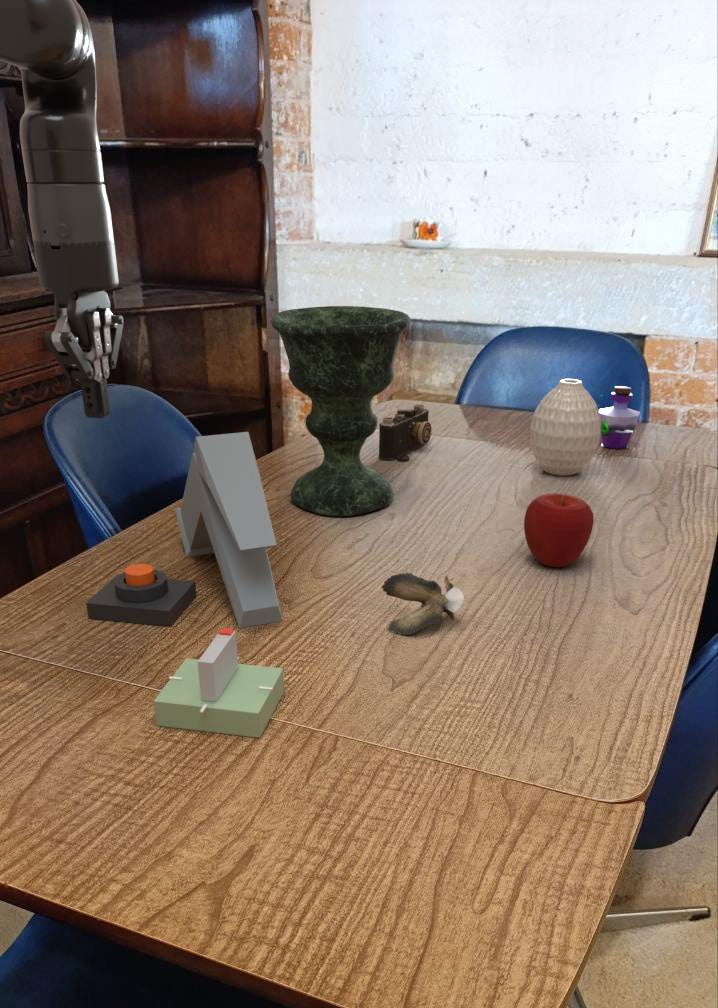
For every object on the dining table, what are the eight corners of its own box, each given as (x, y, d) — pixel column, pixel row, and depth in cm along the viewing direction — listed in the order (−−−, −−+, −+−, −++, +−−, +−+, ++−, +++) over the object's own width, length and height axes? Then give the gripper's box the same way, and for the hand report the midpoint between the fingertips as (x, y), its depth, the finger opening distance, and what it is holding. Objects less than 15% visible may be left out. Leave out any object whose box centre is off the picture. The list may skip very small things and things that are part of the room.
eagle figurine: (433, 593, 115) (372, 593, 111) (458, 560, 109) (395, 560, 105) (451, 642, 111) (389, 644, 107) (478, 612, 106) (413, 613, 102)
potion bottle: (585, 446, 181) (593, 387, 175) (605, 437, 186) (612, 380, 181) (624, 454, 176) (633, 393, 170) (643, 445, 181) (652, 386, 176)
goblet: (258, 514, 144) (248, 322, 130) (302, 474, 163) (298, 303, 149) (388, 527, 139) (392, 329, 125) (418, 484, 158) (424, 308, 144)
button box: (88, 618, 110) (83, 589, 109) (119, 589, 118) (115, 561, 116) (170, 626, 109) (167, 597, 107) (196, 596, 116) (194, 568, 114)
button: (121, 586, 110) (119, 573, 110) (133, 575, 114) (131, 562, 113) (148, 588, 110) (146, 576, 109) (159, 577, 113) (158, 564, 112)
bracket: (215, 675, 123) (238, 601, 100) (174, 508, 131) (186, 406, 108) (271, 664, 125) (305, 590, 103) (227, 501, 133) (250, 400, 111)
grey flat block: (216, 702, 88) (212, 660, 85) (201, 700, 88) (197, 659, 86) (238, 667, 94) (235, 628, 91) (224, 666, 94) (221, 627, 92)
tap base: (151, 731, 88) (147, 705, 87) (191, 676, 98) (188, 651, 96) (257, 744, 86) (255, 717, 85) (288, 687, 96) (286, 662, 95)
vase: (602, 466, 168) (615, 378, 160) (585, 485, 158) (597, 391, 150) (537, 457, 173) (546, 371, 165) (517, 475, 163) (525, 383, 155)
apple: (589, 578, 122) (598, 509, 117) (519, 572, 124) (526, 505, 119) (586, 552, 130) (595, 487, 126) (521, 547, 132) (527, 483, 127)
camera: (403, 464, 169) (404, 422, 165) (373, 458, 172) (374, 418, 168) (442, 444, 181) (444, 405, 178) (414, 439, 185) (415, 401, 181)
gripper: (70, 231, 91) (93, 400, 99) (0, 240, 79) (33, 430, 88) (138, 232, 89) (156, 403, 98) (76, 241, 78) (102, 434, 86)
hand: (98, 416), depth 93 cm, fingers closed
